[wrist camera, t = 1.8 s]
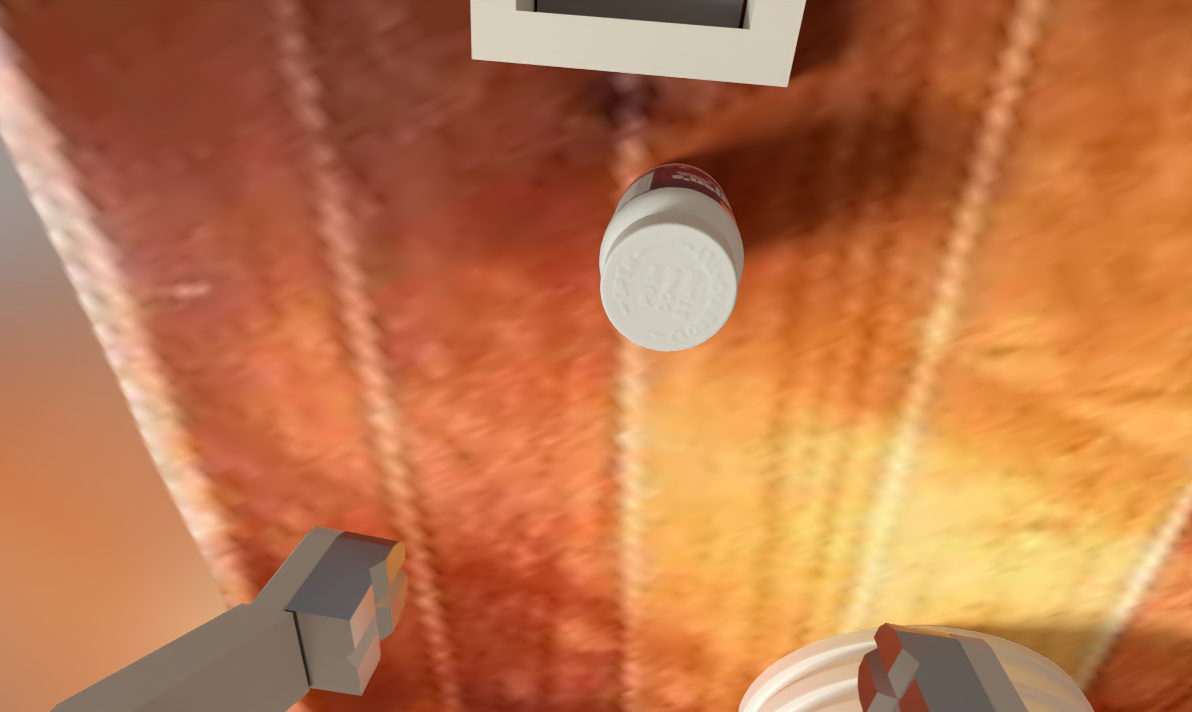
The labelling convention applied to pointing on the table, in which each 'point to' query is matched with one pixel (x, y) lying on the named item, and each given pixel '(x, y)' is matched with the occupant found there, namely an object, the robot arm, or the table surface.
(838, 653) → the plate stack
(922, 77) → the table surface
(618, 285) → the pill bottle
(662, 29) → the holder block
